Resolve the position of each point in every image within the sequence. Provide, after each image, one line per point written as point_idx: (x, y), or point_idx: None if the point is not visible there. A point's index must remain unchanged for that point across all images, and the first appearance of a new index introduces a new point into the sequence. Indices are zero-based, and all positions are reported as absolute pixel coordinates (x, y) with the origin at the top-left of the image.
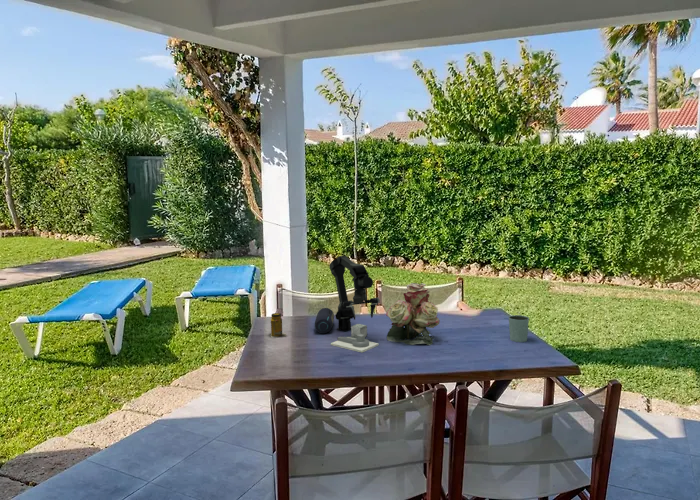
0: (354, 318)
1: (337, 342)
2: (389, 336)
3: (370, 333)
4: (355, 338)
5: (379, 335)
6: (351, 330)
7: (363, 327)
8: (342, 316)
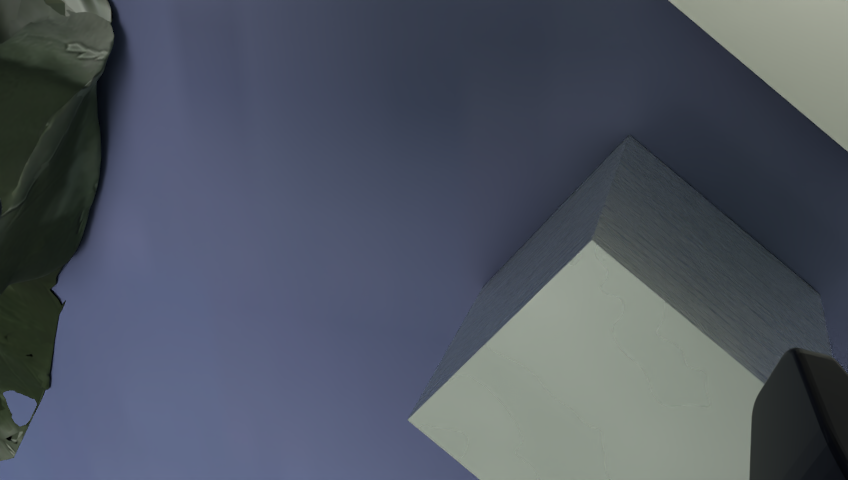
0: (824, 378)
1: None
2: (51, 70)
3: None
4: (755, 59)
5: (274, 302)
6: None
7: (496, 327)
8: None
